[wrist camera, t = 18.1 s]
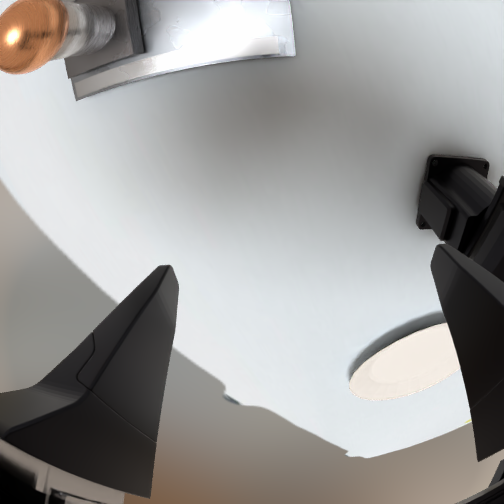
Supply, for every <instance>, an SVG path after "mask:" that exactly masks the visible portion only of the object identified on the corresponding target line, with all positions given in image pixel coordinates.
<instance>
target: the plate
mask: <svg viewBox="0 0 504 504" xmlns="http://www.w3.org/2000/svg"><path fill="white" fill-rule="evenodd" d="M459 369H460V364H459V361H458V357H457V354H456V350H455V347H454V343H453V340H452V337H451V334H450V331H449V328H448V325H447V322H446V323H442V324H438V325H434V326H431V327H428V328H426V329H423V330H420V331H417V332H415V333H412V334H410V335H408V336H406V337H404V338H402V339H400V340H398V341H396V342H394V343H392V344H391V345H389V346H387V347H386V348H384V349H382V350H381V351H379V352H377V353H376V354H375V355H373V356H372V357H371V358H369V359H368V360H367V361H365V362H364V363H363V364H362V365H361V366H360V367H359V368H358V369H357V370H356V371H355V372H354V374H353V376H352V378H351V380H350V382H349V389H350V391H351V392H352V393H353V395H355V396H357V397H359V398H362V399H367V400H388V399H395V398H400V397H404V396H408V395H411V394H414V393H417V392H420V391H422V390H425V389H427V388H429V387H431V386H433V385H435V384H437V383H439V382H441V381H442V380H444V379H446V378H447V377H449V376H450V375H452V374H453V373H454V372H456V371H457V370H459Z"/></svg>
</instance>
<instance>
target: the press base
mask: <svg viewBox="0 0 504 504" xmlns="http://www.w3.org/2000/svg"><path fill="white" fill-rule="evenodd" d="M61 1H66V2H75V1H77V0H61ZM136 2H137V10H138V16H139V23H140V29H141V36H142V42H143V47H144V53H143V54H140V55H136V56H133V57H130V58H127V59H124V60H121V61H118V62H115V63H112V64H109V65H106V66H104V67H101V68H98V69H96V70H93V71H91V72H88V73H86V74H83V75H80V76H76V77H73V78H71V81H72V86H73V90H74V94H75V98H76V101H78V100H80V99H83V98H86V97H88V96H91V95H94V94H96V93H99V92H102V91H105V90H108V89H111V88H114V87H117V86H120V85H124V84H127V83H130V82H134V81H137V80H141V79H145V78H148V77H152V76H156V75H160V74H164V73H169V72H173V71H178V70H182V69H187V68H192V67H198V66H203V65H209V64H216V63H222V62H229V61H237V60H246V59H256V58H268V57H283V56H296V51H295V41H294V32H293V23H292V14H291V6H290V0H136Z"/></svg>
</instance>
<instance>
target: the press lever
mask: <svg viewBox="0 0 504 504" xmlns="http://www.w3.org/2000/svg"><path fill="white" fill-rule="evenodd" d="M143 53H144V47H143V42H142V36H141V29H140V23H139V16H138V10H137V2H136V0H77V1H75V2H66V1H61V0H17V1H16V2H14V3H13V4H11V5H10V6H9V7H8V8H7V9H6V10H5V11H4V12H3V13H2V14H1V15H0V70H1V71H3V72H6V73H9V74H25V73H29V72H32V71H34V70H36V69H38V68H40V67H42V66H43V65H45V64H46V63H47V62H48V61H52V60H57V59H62V58H64V60H65V65H66V70H67V75H68V79H69V78H73V77H76V76H80V75H83V74H86V73H88V72H91V71H93V70H96V69H98V68H101V67H104V66H106V65H109V64H112V63H115V62H118V61H121V60H124V59H127V58H130V57H133V56H136V55H140V54H143Z"/></svg>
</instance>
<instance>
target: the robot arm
mask: <svg viewBox="0 0 504 504" xmlns="http://www.w3.org/2000/svg"><path fill="white" fill-rule="evenodd" d="M434 160H435V163H434V164H433V161H434ZM484 164H485V165H484ZM483 166H484V167H483ZM488 170H489V162H488V161H487V160H485V159H480V158H470V157H459V156H445V155H431V156H429V158H428V160H427V167H426V174H425V180H424V182H423V186H422V192H421V197H420V202H419V208H418V211H419V212H418V217H417V222H416V224H417V226H418V228H419V229H433V231H434V232H435V234H436V235H437V236H438V238H439V239H440V241H444V242H445V243H446V244H439V245H437V246H436V248H435V251H434V254H433V257H432V261H431V271H432V275H433V278H434V282H435V285H436V289H437V292H438V296H439V300H440V303H441V307H442V310H443V313H444V316H445V319H446V322H447V325H448V328H449V331H450V334H451V337H452V340H453V343H454V347H455V350H456V354H457V357H458V361H459V364H460V368H461V372H462V376H463V380H464V384H465V388H466V393H467V398H468V402H469V407H470V413H471V419H472V424H473V431H474V437H475V445H476V453H477V460H478V462H480V461H482V460H483V459H485V458H488V457H490V456H491V455H493V454H495V453H497V452H499V451H501V450H502V449H504V176H501V179H500V181H499V183H500V184H499V186H498V188H496V187H495V186H494V185H493V184H492V183H491V182H489V181H488V180H487V174H488ZM422 222H423V224H421V223H422ZM178 294H179V284H178V281H177V278H176V276H175V273H174V270H173V268H172V266H171V265H160V266H158V267H157V268H156V269H155V270H154V271H153V272H152V273H151V274H150V275H149V276H148V277H147V278H145V279H144V280H143V281H142V282H141V283H140V284H139V285H138V286H137V287H136V288H135V289H134V290H133V291H132V292H131V293H130V294H129V295H128V296H127V297H126V298H125V299H124V300H123V301H122V302H121V303H120V304H119V305H118V306H117V307H116V308H115V309H114V310H113V311H112V312H111V313H110V314H109V315H108V316H107V317H106V318H105V319H104V320H103V321H102V322H101V323H100V324H99V325H98V326H97V327H96V328H95V329H94V330H93V332H91V333H90V334H89V335H88V337H86V339H85V340H84V341H83V342H82V343H81V344H80V345H79V346H78V347H77V348H76V349H75V350H74V351H72V353H70V354H69V355H68V356H67V357H66V358H65V359H64V360H63V361H62V362H61V363H60V364H59V365H57V366H56V367H55V368H54V369H53V370H52V371H51V372H50V373H49V374H48V375H46V376H45V377H44V378H43V379H42V380H41V381H40V382H38V383H37V384H35V385H34V386H32V387H29V388H26V389H21V390H16V391H10V392H4V393H0V504H123V501H124V494H125V493H128V494H132V495H137V496H140V497H145V498H149V499H150V496H151V488H152V478H153V469H154V460H155V452H156V442H157V435H158V429H159V421H160V415H161V408H162V402H163V396H164V390H165V384H166V378H167V372H168V366H169V361H170V355H171V350H172V345H173V339H174V334H175V328H176V317H177V305H178ZM456 504H504V459H503V460H502V461H500V464H499V466H498V468H497V470H496V473H495V475H494V477H493V479H492V481H491V483H490V485H489V487H488V488H487V489H485V490H483V491H481V492H479V493H477V494H475V495H473V496H471V497H469V498H467V499H465V500H462V501H460V502H458V503H456Z"/></svg>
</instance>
